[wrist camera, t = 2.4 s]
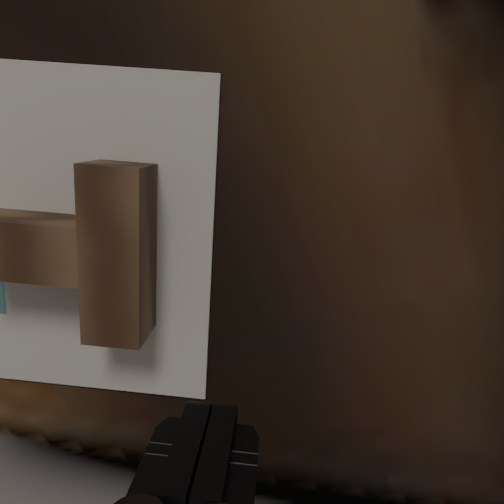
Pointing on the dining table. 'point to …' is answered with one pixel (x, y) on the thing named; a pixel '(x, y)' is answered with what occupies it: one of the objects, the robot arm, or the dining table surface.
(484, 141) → the dining table surface
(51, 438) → the dining table surface
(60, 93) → the mat
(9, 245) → the t block
